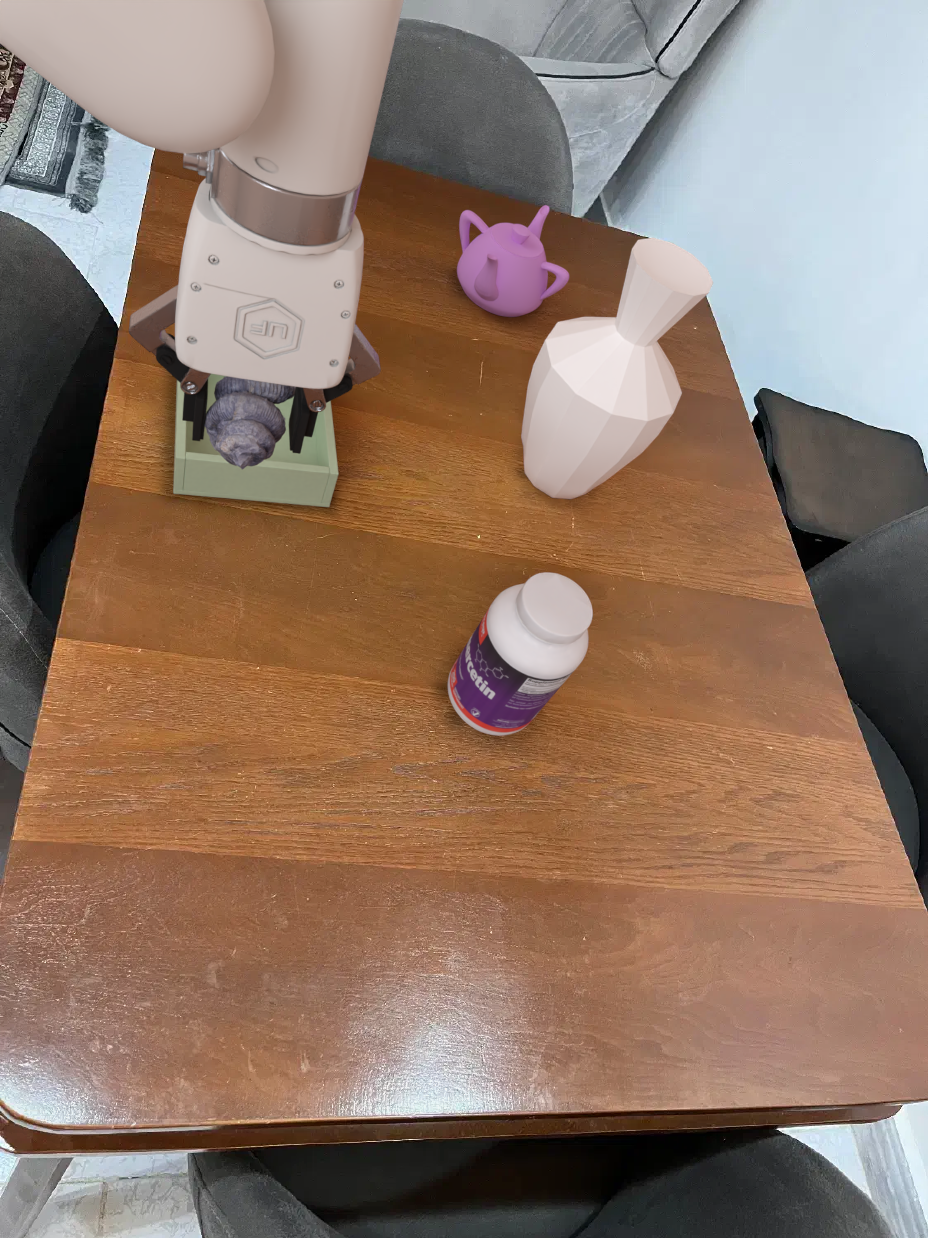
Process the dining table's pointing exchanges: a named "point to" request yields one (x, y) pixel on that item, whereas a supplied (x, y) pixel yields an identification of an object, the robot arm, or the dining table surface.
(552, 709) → the dining table surface
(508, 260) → the teapot
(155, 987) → the dining table surface
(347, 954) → the dining table surface
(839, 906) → the dining table surface
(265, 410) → the seashell
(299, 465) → the box
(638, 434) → the vase
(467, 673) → the pill bottle
